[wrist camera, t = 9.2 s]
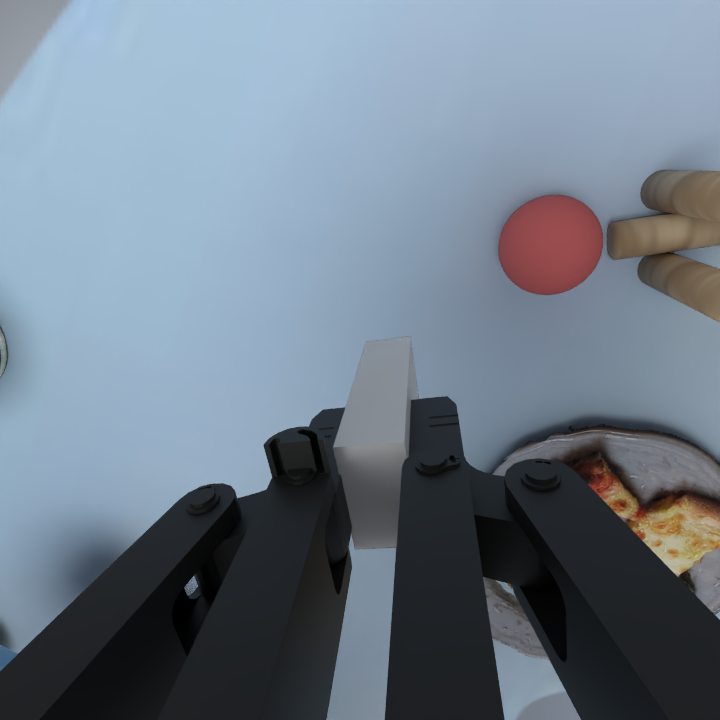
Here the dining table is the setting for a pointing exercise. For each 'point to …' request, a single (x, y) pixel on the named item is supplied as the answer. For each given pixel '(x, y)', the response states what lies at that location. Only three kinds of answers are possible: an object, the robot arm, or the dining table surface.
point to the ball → (550, 244)
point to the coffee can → (2, 353)
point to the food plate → (632, 509)
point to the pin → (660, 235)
